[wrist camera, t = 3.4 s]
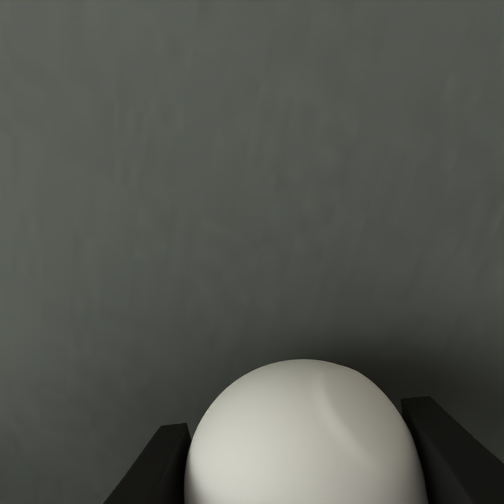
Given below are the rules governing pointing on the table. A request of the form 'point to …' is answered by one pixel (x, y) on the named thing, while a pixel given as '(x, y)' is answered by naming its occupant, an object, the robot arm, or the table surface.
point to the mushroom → (303, 441)
